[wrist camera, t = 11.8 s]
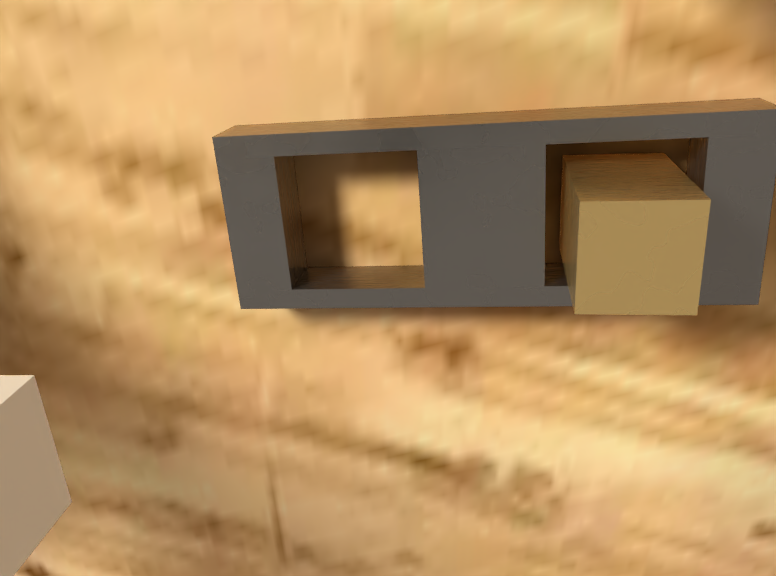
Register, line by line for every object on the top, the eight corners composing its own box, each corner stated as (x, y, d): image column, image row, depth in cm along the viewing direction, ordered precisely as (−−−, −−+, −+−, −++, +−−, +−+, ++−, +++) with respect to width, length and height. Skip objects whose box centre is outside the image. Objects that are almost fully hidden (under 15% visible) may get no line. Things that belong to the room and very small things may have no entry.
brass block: (562, 155, 33) (579, 201, 26) (663, 152, 32) (711, 199, 25) (559, 246, 35) (574, 314, 27) (655, 245, 34) (697, 315, 27)
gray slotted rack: (259, 285, 38) (241, 308, 35) (235, 125, 35) (212, 137, 32) (737, 279, 34) (758, 304, 31) (759, 98, 31) (784, 108, 28)
